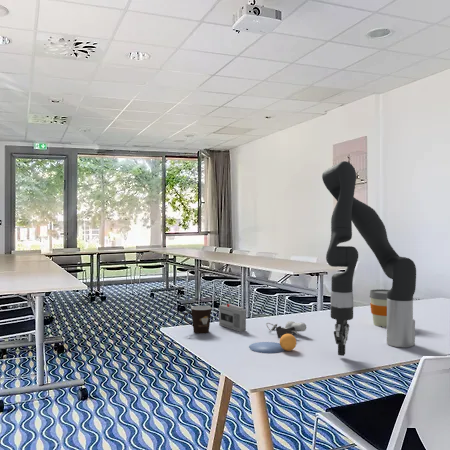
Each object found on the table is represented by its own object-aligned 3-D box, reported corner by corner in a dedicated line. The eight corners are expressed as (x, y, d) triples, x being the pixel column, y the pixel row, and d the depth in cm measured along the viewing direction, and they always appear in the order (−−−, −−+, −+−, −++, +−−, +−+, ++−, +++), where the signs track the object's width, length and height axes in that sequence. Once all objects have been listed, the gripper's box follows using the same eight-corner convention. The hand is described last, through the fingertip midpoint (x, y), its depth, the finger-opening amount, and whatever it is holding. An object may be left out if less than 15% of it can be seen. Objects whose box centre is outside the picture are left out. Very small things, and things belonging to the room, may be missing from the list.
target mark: (277, 341, 177) (277, 340, 177) (293, 351, 164) (293, 350, 164) (243, 344, 173) (243, 343, 173) (257, 354, 160) (257, 354, 160)
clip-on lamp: (261, 339, 192) (290, 339, 177) (258, 324, 192) (286, 322, 178) (282, 332, 199) (311, 331, 184) (279, 318, 199) (307, 316, 185)
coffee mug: (211, 329, 196) (211, 305, 196) (211, 334, 188) (211, 309, 188) (184, 329, 196) (184, 306, 196) (183, 334, 187) (183, 310, 187)
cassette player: (219, 325, 204) (219, 302, 204) (224, 324, 206) (224, 302, 206) (240, 332, 192) (240, 308, 191) (245, 331, 193) (245, 307, 193)
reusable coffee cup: (405, 326, 202) (405, 292, 201) (382, 329, 197) (382, 294, 197) (385, 320, 213) (385, 288, 213) (363, 322, 209) (363, 290, 208)
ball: (297, 345, 168) (286, 332, 169) (301, 341, 162) (290, 328, 164) (285, 355, 166) (274, 342, 167) (289, 352, 160) (278, 339, 162)
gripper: (335, 300, 163) (335, 348, 164) (326, 306, 152) (325, 358, 152) (356, 302, 160) (356, 351, 160) (348, 308, 148) (348, 362, 148)
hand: (341, 354), depth 156 cm, fingers closed
